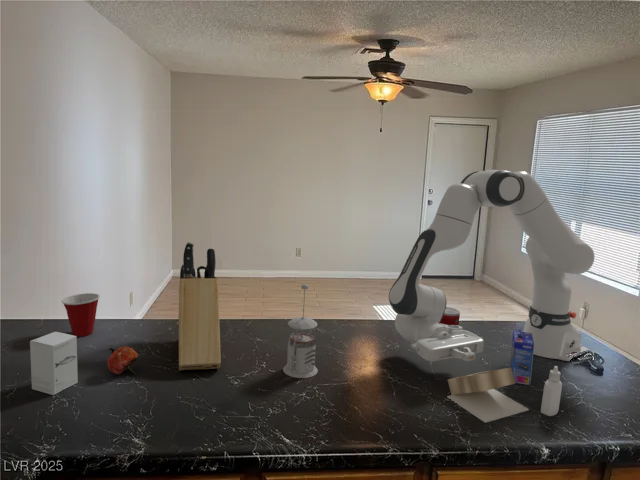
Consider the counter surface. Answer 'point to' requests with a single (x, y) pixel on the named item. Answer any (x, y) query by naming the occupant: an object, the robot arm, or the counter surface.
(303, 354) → the french press
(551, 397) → the eye dropper bottle
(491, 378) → the block
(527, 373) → the ink cartridge box
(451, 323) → the canned food
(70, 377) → the supplement box
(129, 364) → the red rounded lump
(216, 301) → the knife block
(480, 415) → the mat
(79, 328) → the plastic cup
